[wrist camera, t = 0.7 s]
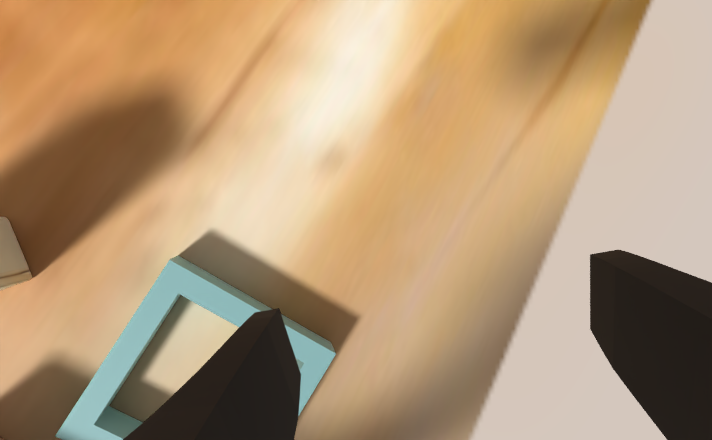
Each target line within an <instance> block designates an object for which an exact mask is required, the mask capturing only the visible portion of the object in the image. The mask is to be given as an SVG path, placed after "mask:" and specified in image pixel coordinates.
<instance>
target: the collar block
mask: <svg viewBox="0 0 712 440" xmlns="http://www.w3.org/2000/svg"><path fill="white" fill-rule="evenodd" d="M180 295H182V296H184V297H185V298H187V299H189V300H191V301H193V302H194V303H196V304H198V305H200V306H202V307H203V308H205V309H207V310H209V311H211V312H213V313H214V314H216V315H218V316H220V317H222V318H223V319H225V320H227V321H229V322H231V323H233V324H234V325H236V326H238V327H240V326H241V325H242V324H243V323H244V322H245V321H246V320H247V319H248V318H249V317H250V316H251V315H253V314H254V313H255V312H260V311H266V310H272V308H270V307H268V306H266V305H264V304H263V303H261V302H259V301H257V300H256V299H254V298H252V297H250V296H249V295H247V294H245V293H243V292H242V291H240V290H238V289H236V288H235V287H233V286H231V285H229V284H228V283H226V282H224V281H222V280H221V279H219V278H217V277H215V276H213V275H212V274H210V273H208V272H206V271H205V270H203V269H201V268H199V267H198V266H196V265H194V264H192V263H191V262H189V261H187V260H185V259H184V258H182V257H180V256H176V257H174V258H172V259H170V260H169V262H168V263H167V265H166V266H165V268H164V269H163V271H162V272H161V274H160V275H159V277H158V279H157V280H156V282H155V283H154V285H153V286H152V288H151V289H150V291H149V292H148V294H147V295H146V297H145V298H144V300H143V302H142V303H141V305H140V306H139V308H138V309H137V311H136V312H135V314H134V315H133V317H132V318H131V320H130V322H129V323H128V325H127V326H126V328H125V329H124V331H123V332H122V334H121V335H120V337H119V338H118V340H117V342H116V343H115V345H114V346H113V348H112V349H111V351H110V352H109V354H108V355H107V357H106V358H105V360H104V361H103V363H102V365H101V366H100V368H99V369H98V371H97V372H96V374H95V375H94V377H93V378H92V380H91V381H90V383H89V385H88V386H87V388H86V389H85V391H84V392H83V394H82V395H81V397H80V398H79V400H78V401H77V403H76V405H75V406H74V408H73V409H72V411H71V412H70V414H69V415H68V417H67V418H66V420H65V421H64V423H63V424H62V426H61V428H60V429H59V431H58V432H57V434H56V435H55V437H57V438H60V439H62V440H123V439H124V438H125V437H126V436H128V435H129V434H130V433H131V432H132V431H134V430H135V429H136V428H137V427H138V426H140V425H141V424H142V423H143V422H141V421H139V420H137V419H135V418H133V417H131V416H129V415H126V414H124V413H122V412H120V411H118V410H116V409H114V408H112V407H110V406H109V405H110V404H111V402H112V400H113V399H114V397H115V396H116V394H117V393H118V391H119V390H120V388H121V386H122V385H123V383H124V382H125V380H126V379H127V377H128V376H129V374H130V372H131V371H132V369H133V368H134V366H135V365H136V363H137V362H138V360H139V359H140V357H141V355H142V354H143V352H144V351H145V349H146V348H147V346H148V345H149V343H150V341H151V340H152V338H153V337H154V335H155V334H156V332H157V331H158V329H159V327H160V326H161V324H162V323H163V321H164V320H165V318H166V317H167V315H168V313H169V312H170V310H171V309H172V307H173V306H174V304H175V303H176V301H177V299H178V298H179V296H180ZM281 315H282V314H281ZM282 319H283V322H284V325H285V328H286V331H287V334H288V337H289V340H290V343H291V346H292V349H293V352H294V355H295V358H296V361H297V364H298V367H299V370H300V373H301V386H300V402H299V414H300V413H301V411H302V409H303V408H304V406H305V404H306V403H307V401H308V399H309V398H310V396H311V395H312V393H313V391H314V390H315V388H316V386H317V385H318V383H319V381H320V380H321V378H322V376H323V375H324V373H325V371H326V370H327V368H328V366H329V365H330V363H331V361H332V360H333V358H334V356H335V355H336V353H335V350H334V348H333V346H332V344H331V342H330V341H328V340H326V339H324V338H323V337H321V336H319V335H317V334H316V333H314V332H312V331H310V330H308V329H307V328H305V327H303V326H301V325H300V324H298V323H296V322H294V321H293V320H291V319H289V318H287V317H286V316H284V315H282ZM299 414H298V416H299Z"/></svg>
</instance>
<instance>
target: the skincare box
mask: <svg viewBox="0 0 712 440" xmlns="http://www.w3.org/2000/svg"><path fill="white" fill-rule="evenodd" d="M31 279H32V275H31V272H30V270H29V267H28V265H27V262H26V260H25V257H24V255H23V253H22V250H21V248H20V245H19V243H18V241H17V238H16V236H15V234H14V231H13V229H12V227H11V224H10V222H9V220H8V218H7V217H0V290H3V289H6V288H9V287H12V286H14V285H17V284H20V283H23V282H25V281H28V280H31Z"/></svg>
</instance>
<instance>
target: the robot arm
mask: <svg viewBox="0 0 712 440" xmlns="http://www.w3.org/2000/svg"><path fill="white" fill-rule="evenodd" d="M590 309H591V311H590V322H591V323H590V324H591V325H590V329H591V331H592V333H593V335H594V336H595V338H596V340H597V342H598V344H599V345H600V347H601V349H602V351H603V352H604V354H605V356H606V357H607V359H608V361H609V362H610V364H611V366H612V368H613V369H614V370H615V372H616V373H617V374H618V376H619V377H620V379H621V380H622V381H623V382H624V384H625V385H626V386H627V388H628V389H629V390H630V392H631V393H632V394H633V396H634V397H635V398H636V400H637V401H638V402H639V403H640V405H641V406H642V407H643V409H644V410H645V411H646V413H647V414H648V415H649V417H650V418H651V419H652V420H653V422H654V423H655V424H656V426H657V427H658V428H659V430H660V431H661V432H662V433H663V435H664V436H665V437H666V439H667V440H712V283H711V282H708V281H706V280H703V279H700V278H697V277H695V276H692V275H689V274H687V273H684V272H681V271H678V270H676V269H673V268H671V267H668V266H665V265H663V264H660V263H657V262H655V261H652V260H649V259H646V258H644V257H640V256H638V255H634V254H632V253H629V252H625V251H621V250H614V251H608V252H603V253H597V254H592V255H590ZM300 386H301V373H300V370H299V367H298V364H297V361H296V358H295V355H294V352H293V349H292V346H291V343H290V340H289V337H288V334H287V331H286V328H285V325H284V322H283V319H282V315H281V312H280V309H279V308H278V309H272V310H266V311H260V312H255V313H254V314H253V315H251V316H250V317H249V318H248V319H247V320H246V321H245V322H244V323H243V324H242V325H241V326H240V327H239V329H238V330H237V331H236V332H235V333H234V334H233V335H232V336H231V337H230V338H229V339H228V340H227V341H226V342H225V343H224V344H223V346H222V347H221V348H220V349H219V350H218V351H217V352H216V353H215V354H214V355H213V356H212V357H211V358H210V359H209V360H208V361H207V362H206V363H205V364H204V365H203V367H202V368H201V369H200V370H199V371H198V372H197V373H196V374H195V375H194V376H192V377H191V378H190V379H189V380H188V381H187V382H186V383H185V384H184V385H183V386H182V387H181V388H180V389H179V390H178V391H177V392H176V393H175V394H174V395H173V396H172V397H171V398H170V399H169V400H168V401H167V402H166V403H165V404H164V405H162V406H161V407H160V408H159V409H158V410H157V411H156V412H155V413H154V414H152V415H151V416H150V417H149V418H148V419H147V420H146V421H144V422H143V423H142V424H141V425H140V426H138V427H137V428H136V429H135V430H134V431H132V432H131V433H130V434H129V435H128V436H126V437H125V438H124V439H123V440H294V436H295V431H296V426H297V420H298V414H299V402H300Z"/></svg>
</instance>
